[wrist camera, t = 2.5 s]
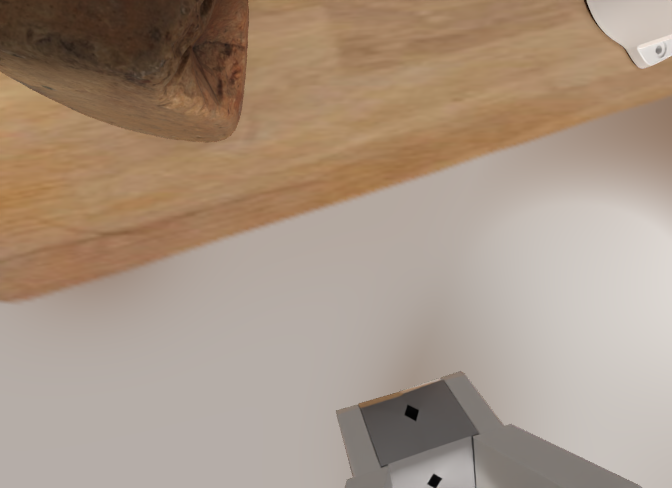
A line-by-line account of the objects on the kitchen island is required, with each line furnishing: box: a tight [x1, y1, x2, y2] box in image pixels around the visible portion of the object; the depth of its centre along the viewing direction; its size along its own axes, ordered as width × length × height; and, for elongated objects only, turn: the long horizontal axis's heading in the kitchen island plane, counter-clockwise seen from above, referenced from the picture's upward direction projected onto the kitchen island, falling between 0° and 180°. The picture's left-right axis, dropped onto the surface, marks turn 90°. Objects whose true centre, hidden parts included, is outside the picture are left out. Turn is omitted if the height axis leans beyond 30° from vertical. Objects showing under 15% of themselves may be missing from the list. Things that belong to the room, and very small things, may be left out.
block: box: [0, 0, 249, 142], centre depth 22 cm, size 11×8×20 cm
